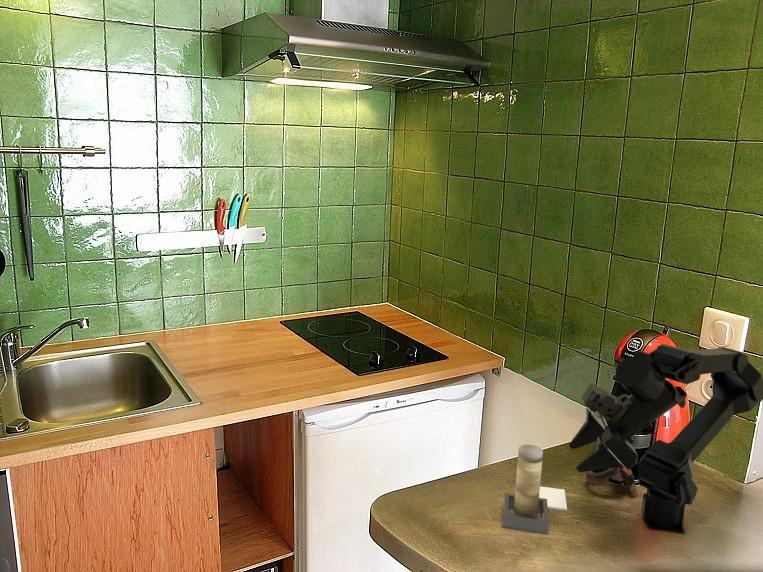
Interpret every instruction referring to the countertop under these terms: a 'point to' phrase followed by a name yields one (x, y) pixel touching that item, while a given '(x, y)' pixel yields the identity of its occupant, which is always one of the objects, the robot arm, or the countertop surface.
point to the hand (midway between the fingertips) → (573, 458)
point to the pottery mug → (614, 474)
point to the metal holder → (525, 517)
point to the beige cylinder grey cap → (528, 480)
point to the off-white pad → (554, 498)
